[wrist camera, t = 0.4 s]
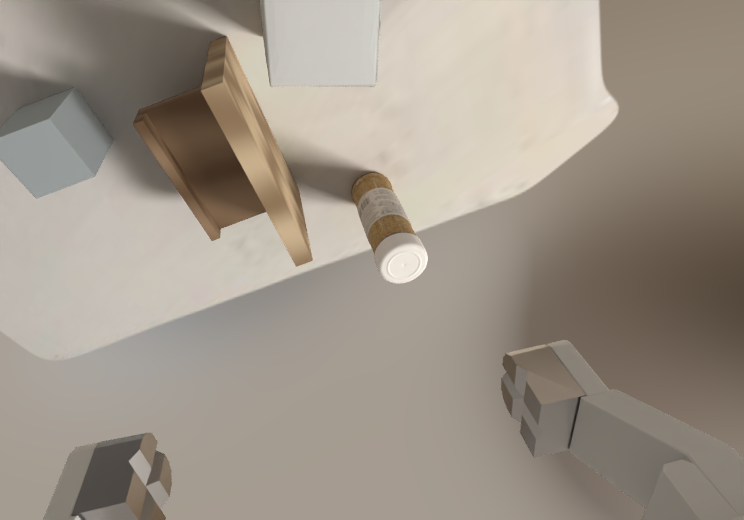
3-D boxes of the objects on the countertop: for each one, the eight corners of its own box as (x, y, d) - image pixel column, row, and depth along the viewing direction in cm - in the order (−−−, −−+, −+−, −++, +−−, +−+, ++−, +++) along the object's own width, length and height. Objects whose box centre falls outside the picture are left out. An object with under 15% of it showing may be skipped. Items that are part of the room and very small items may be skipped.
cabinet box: (8, 112, 39) (-29, 148, 33) (75, 86, 39) (49, 118, 33) (52, 162, 42) (24, 203, 37) (113, 139, 42) (95, 176, 37)
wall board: (132, 72, 39) (98, 129, 30) (226, 36, 39) (222, 82, 30) (224, 219, 49) (220, 294, 40) (299, 191, 49) (312, 260, 40)
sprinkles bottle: (373, 213, 53) (405, 292, 43) (342, 194, 51) (368, 273, 40) (399, 184, 51) (439, 258, 41) (368, 163, 49) (402, 236, 39)
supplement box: (252, -67, 35) (257, -49, 25) (349, -60, 37) (389, -41, 27) (260, 39, 39) (267, 89, 30) (346, 41, 41) (379, 88, 31)
